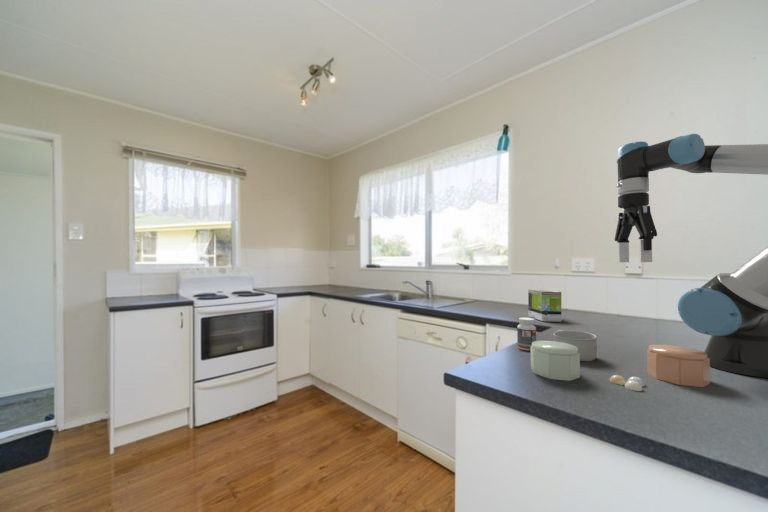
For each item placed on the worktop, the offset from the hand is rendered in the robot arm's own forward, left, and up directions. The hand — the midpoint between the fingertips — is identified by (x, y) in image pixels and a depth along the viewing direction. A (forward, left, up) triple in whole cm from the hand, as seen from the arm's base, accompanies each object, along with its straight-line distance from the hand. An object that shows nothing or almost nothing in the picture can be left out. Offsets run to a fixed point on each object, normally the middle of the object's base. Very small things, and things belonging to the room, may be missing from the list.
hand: (634, 262), depth 96 cm
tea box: (+13, -61, -29) cm, 69 cm away
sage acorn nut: (+29, +28, -29) cm, 49 cm away
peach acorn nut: (+2, +24, -29) cm, 37 cm away
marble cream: (+15, +34, -27) cm, 46 cm away
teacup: (+20, +10, -29) cm, 37 cm away
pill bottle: (+31, +1, -29) cm, 42 cm away
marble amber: (+17, +31, -27) cm, 44 cm away
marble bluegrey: (+13, +31, -27) cm, 43 cm away
